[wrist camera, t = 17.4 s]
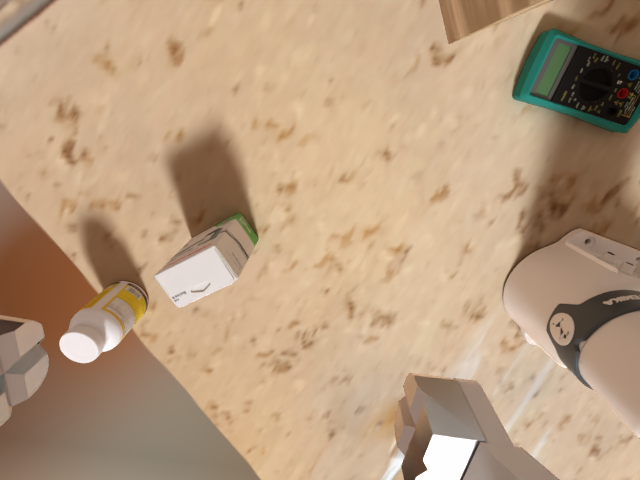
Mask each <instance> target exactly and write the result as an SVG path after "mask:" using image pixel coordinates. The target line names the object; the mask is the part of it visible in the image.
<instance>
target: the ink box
mask: <svg viewBox="0 0 640 480" xmlns="http://www.w3.org/2000/svg"><path fill="white" fill-rule="evenodd" d="M257 241H258V237H257V236H256V234H255V233H254V231H253V230H252V228H251V227H250V225H249V224H248V222H247V221H246V220H245V218H244V217H243V216H242V214H241V213H238V214H236V215H234V216H232V217H230V218H228V219H226V220H224V221H223V222H221V223H219V224H217V225H215V226H213V227H211V228H210V229H208V230H206V231H204V232H202V233H200V234H199V235H197V236H195V237H193V238H192V239H191V240H190V241H189V242H188V243H187V244H186V245H185V246H184V247H183V248H182V249H181V250H180V251H179V252H178V253H177V254H176V255H175V256H174V257H173V258H172V259H171V260H170V261H169V262H168V263H167V264H166V265H165V266H164V267H163V268H162V269H161V270H160V271H159V272H158V273H157V274H156V275H154V278H155V279H156V280H157V282H158V283H159V284H160V285H161V287H162V288H163V289H164V290H165V292H166V293H167V294H168V296H169V297H170V298H171V300H172V301H173V302H174V304H175V305H176V306H177V307H178V308H180V307H183V306H185V305H187V304H189V303H191V302H194V301H196V300H198V299H200V298H202V297H204V296H207V295H209V294H211V293H213V292H215V291H217V290H220V289H222V288H224V287H226V286H228V285H231V284H232V283H233V282H234V281H235V280H237V279H238V277H239V275H240V274H241V272H242V270H243V268H244V266H245V264H246V262H247V260H248V258H249V256H250V255H251V253H252V251H253V249H254V247H255V245H256V243H257Z"/></svg>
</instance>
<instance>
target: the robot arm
mask: <svg viewBox="0 0 640 480" xmlns="http://www.w3.org/2000/svg"><path fill="white" fill-rule="evenodd" d="M586 239H587V241H586V242H585V240H586ZM503 302H504V306H505V309H506V311H507V313H508V315H509V316H510V317H511V318H512V319H513V320H514V321H515V322H516V323H517V324H518V325H519V327H520V329H521V333H522V336H523V338H524V339H525V340H526V341H527V342H528V343H529V344H532V345H538V346H539V347H541V348H542V349H543V350H544V351H545V352H546V353H547V354H548V355H549V356H550V357H551V358H552V359H553V360H554V361H556V362H557V363H558V364H559V365H560V366H562V367H564V368H566V367H567V369H568V370H569V371H570V372H571V373H572V374H573V376H575V377H576V378H577V379H578V380H580V381H581V382H582V383H583V384H584V385H585V386H587V387H589V388H590V389H592V390H594V391H595V392H596V393H597V394H598V395H599V396H600V397H601V398H602V400H603V401H604V402H605V403H606V404H607V405H608V406H609V407H610V408H611V409H612V410H613V411H614V413H615V414H616V415H617V416H618V417H619V418H620V419H621V420H622V421H623V422H624V423H625V424H626V425H627V427H628V428H629V429H630V430H631V431H632V432H633V433H634V434H635V435H636V436H637V437H638V438H639V439H640V251H639V250H637V249H634V248H632V247H629V246H626V245H624V244H621V243H618V242H616V241H613V240H611V239H608V238H605V237H603V236H600V235H597V234H595V233H592V232H590V231H587V230H584V229H580V228H579V229H575V230H573V231H571V232H569V233H568V234H567V235H565V236H564V237H563V238H562V239H560V240H559V241H558V242H556V243H554V244H552V245H549V246H546V247H544V248H541V249H539V250H537V251H535V252H533V253H532V254H530V255H529V256H527V257H526V258H524V259H523V260H522V261H521V262H520V263H519V264H518V265H517V266H516V267H515V268H514V270H513V271H512V272H511V274H510V276H509V277H508V279H507V282H506V284H505V287H504V293H503ZM43 338H44V333H43V328H42V324H39V323H38V322H36V321H33V320H26V319H20V318H13V317H8V316H1V315H0V426H1V425H2V424H3V423H4V422H5V421H6V420H7V419H8V418H9V417H10V416H11V409H12V406H14V405H16V404H18V403H20V402H22V401H24V400H26V399H28V398H29V397H30V396H31V395H32V394H33V393H34V392H35V391H36V390H37V389H38V388H39V387H40V385H41V383H42V382H43V380H44V378H45V376H46V374H47V370H48V364H49V361H48V355H47V353H46V352H45V351H44V349H43V348H42V347H41V346H40V345H39V343H40V342H41V341H42V340H43ZM403 387H404V391H405V395H406V396H405V397H404V398H402V399H401V400H399V401H398V405H397V409H396V412H395V424H394V427H395V437H396V443H397V447H398V448H399V449H400V450H401V452H402V453H403V454H404V455H405V457H404V460H403V463H402V466H401V468H402V472H403V477H404V480H559V479H558V478H557V477H556V476H555V475H553V474H552V473H551V472H550V471H549V470H548V469H546V468H545V467H544V466H543V465H542V464H540V463H539V462H538V461H537V460H536V459H534V458H533V457H532V456H531V455H530V454H529V453H527V452H526V451H525V450H524V449H523V448H520V447H514V445H513V443H512V441H511V440H510V438H509V436H508V434H507V432H506V431H505V429H504V427H503V425H502V423H501V422H500V420H499V418H498V416H497V414H496V412H495V411H494V409H493V407H492V405H491V403H490V402H489V400H488V398H487V396H486V394H485V392H484V391H483V389H482V387H481V385H480V384H479V383H478V382H476V381H473V380H464V379H456V378H453V379H451V378H444V377H437V376H429V375H422V374H414V373H409V374H408V376H407V377H406V380H405V383H404V386H403Z"/></svg>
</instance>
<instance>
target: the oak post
mask: <svg viewBox="0 0 640 480" xmlns="http://www.w3.org/2000/svg"><path fill="white" fill-rule="evenodd" d="M550 1H553V0H439V2H440V7H441V11H442V16H443V20H444V25H445V29H446V34H447V38H448V43H449V44H450V43H453V42H455V41H457V40H460V39H462V38H464V37H467V36H469V35H472V34H474V33H476V32H479V31H481V30H484V29H486V28H488V27H491V26H493V25H495V24H498V23H500V22H503V21H505V20H507V19H510V18H512V17H515V16H517V15H519V14H522V13H524V12H526V11H529V10H531V9H534V8H536V7H538V6H541V5H543V4H546V3H548V2H550Z"/></svg>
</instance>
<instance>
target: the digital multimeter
mask: <svg viewBox="0 0 640 480" xmlns="http://www.w3.org/2000/svg"><path fill="white" fill-rule="evenodd" d="M602 65H603V66H602ZM513 99H515V100H518V101H522V102H526V103H529V104H533V105H537V106H540V107H544V108H547V109H551V110H554V111H557V112H560V113H563V114H566V115H570V116H572V117H575V118H578V119H581V120H583V121H586V122H589V123H591V124H594V125H597V126H599V127H602V128H604V129H607V130H609V131H612V132H620V133H626V132H628V131H629V129H630V128H631V127H632V126H633V125H634V124H635V123H636V121H637V120H638V119H639V118H640V61H639V60H636V59H633V58H629V57H626V56H623V55H620V54H617V53H613V52H611V51H608V50H605V49H603V48H600V47H597V46H595V45H592V44H589V43H587V42H584V41H582V40H580V39H577V38H575V37H573V36H570V35H568V34H566V33H563V32H561V31H559V30H556V29H552V30H549V31H545V32H543V33H541V35H540V36H539V38H538V40H537V42H536V43H535V45H534V47H533V49H532V51H531V53H530V55H529V57H528V59H527V61H526V63H525V65H524V67H523V69H522V72H521V74H520V77H519V79H518V82H517V84H516V87H515V90H514V93H513Z"/></svg>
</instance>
